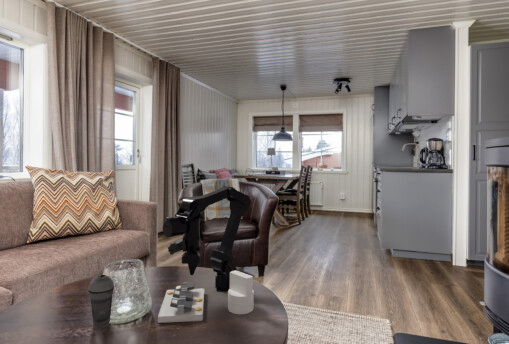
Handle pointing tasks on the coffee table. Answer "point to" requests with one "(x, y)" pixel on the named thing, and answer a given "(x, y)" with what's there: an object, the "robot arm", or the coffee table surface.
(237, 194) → the robot arm
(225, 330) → the coffee table surface
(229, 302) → the cylinder with rectangular tab
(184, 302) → the switch
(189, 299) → the switch
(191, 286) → the switch
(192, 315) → the switch panel
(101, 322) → the beverage cup
